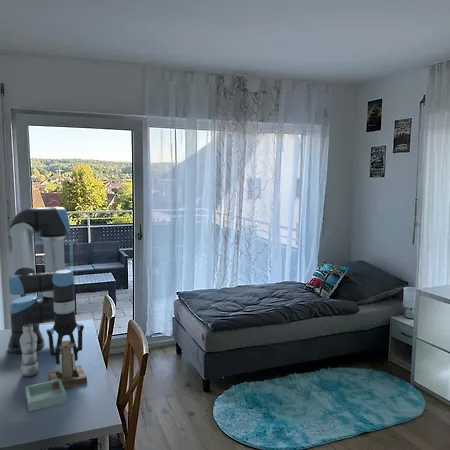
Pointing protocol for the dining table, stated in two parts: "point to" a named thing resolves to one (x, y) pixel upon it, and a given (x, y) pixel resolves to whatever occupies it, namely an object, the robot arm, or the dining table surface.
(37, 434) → the dining table surface
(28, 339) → the plastic bottle
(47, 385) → the tray
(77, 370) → the brown wooden frame
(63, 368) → the handle
